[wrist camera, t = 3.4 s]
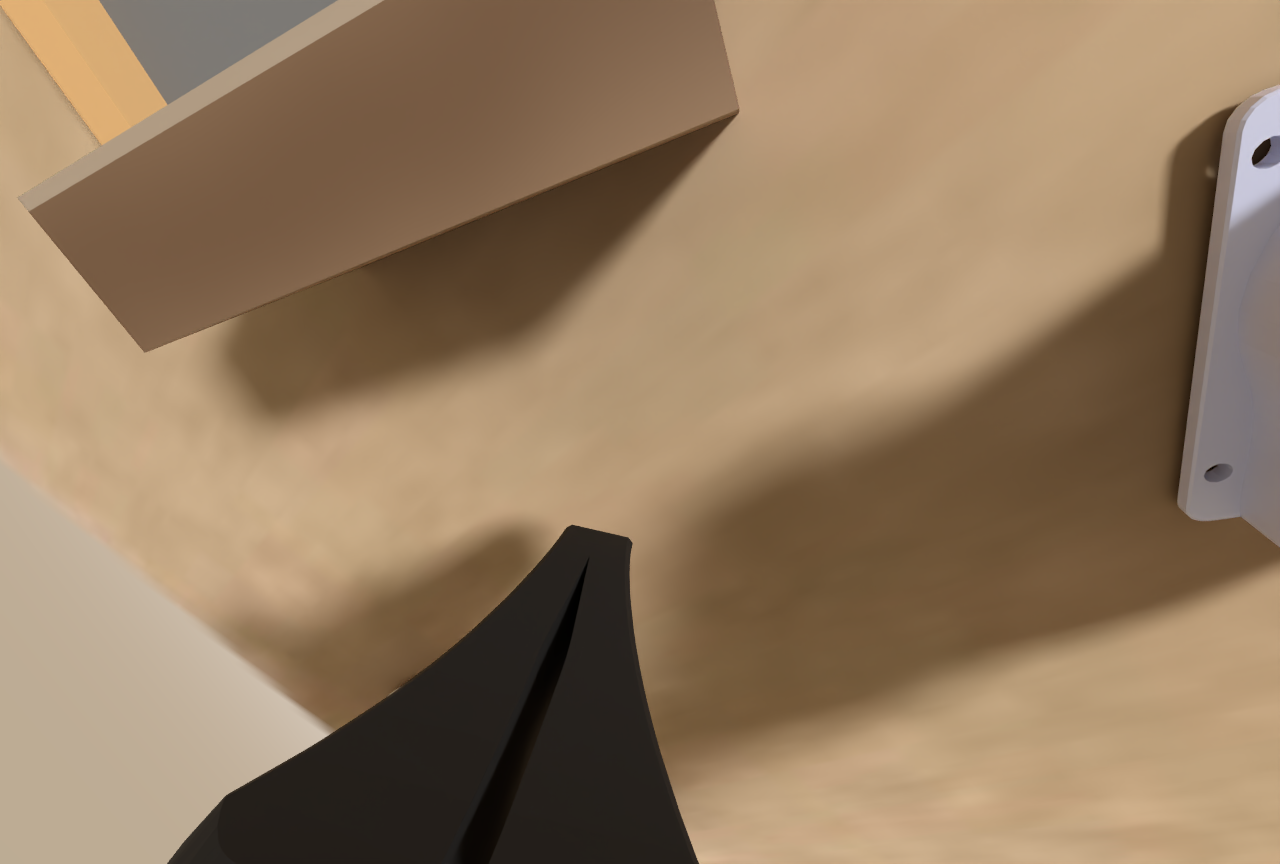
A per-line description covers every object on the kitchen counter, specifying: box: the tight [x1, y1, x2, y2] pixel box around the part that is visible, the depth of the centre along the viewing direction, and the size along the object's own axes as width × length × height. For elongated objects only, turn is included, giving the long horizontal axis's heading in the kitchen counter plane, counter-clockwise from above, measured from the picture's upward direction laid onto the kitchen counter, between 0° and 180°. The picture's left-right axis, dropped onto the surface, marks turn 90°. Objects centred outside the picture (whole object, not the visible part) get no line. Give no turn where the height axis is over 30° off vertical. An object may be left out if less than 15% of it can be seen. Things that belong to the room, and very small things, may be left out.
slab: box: [17, 0, 739, 352], centre depth 9 cm, size 2×10×6 cm, turn 110°
